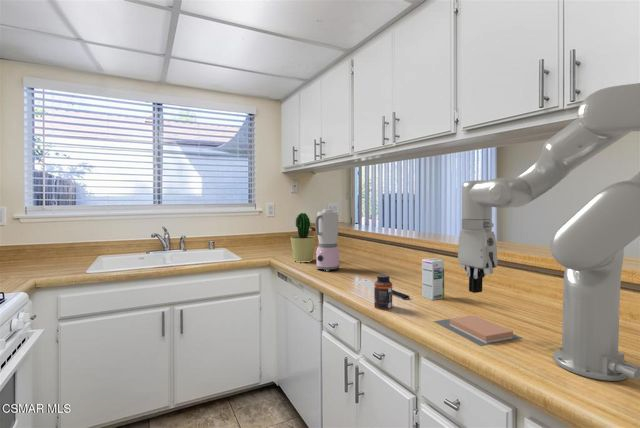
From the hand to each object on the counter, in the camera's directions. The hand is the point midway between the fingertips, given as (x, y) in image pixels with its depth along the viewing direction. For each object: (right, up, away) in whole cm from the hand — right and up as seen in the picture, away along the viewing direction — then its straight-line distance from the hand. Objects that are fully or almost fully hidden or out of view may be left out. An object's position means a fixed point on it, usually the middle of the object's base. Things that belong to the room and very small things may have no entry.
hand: (475, 291), depth 92 cm
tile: (-2, -9, +5) cm, 11 cm away
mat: (0, -11, 0) cm, 11 cm away
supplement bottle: (-22, -11, +20) cm, 32 cm away
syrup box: (-1, -10, +33) cm, 34 cm away
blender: (-40, -8, +85) cm, 94 cm away
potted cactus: (-53, -8, +111) cm, 123 cm away
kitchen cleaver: (-20, -10, +44) cm, 49 cm away
